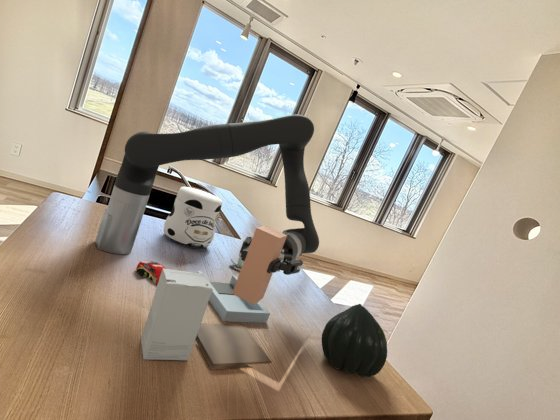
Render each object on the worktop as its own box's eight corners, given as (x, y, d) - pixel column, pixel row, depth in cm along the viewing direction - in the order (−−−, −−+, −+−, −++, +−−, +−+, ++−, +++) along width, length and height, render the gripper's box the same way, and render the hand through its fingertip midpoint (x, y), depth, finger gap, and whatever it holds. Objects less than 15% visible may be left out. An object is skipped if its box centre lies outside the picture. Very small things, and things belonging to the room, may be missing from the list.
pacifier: (252, 274, 122) (244, 265, 127) (259, 257, 121) (251, 249, 126) (234, 271, 118) (226, 263, 123) (241, 254, 117) (233, 246, 122)
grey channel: (222, 324, 82) (227, 311, 81) (193, 282, 98) (197, 271, 97) (265, 326, 89) (270, 313, 88) (232, 286, 105) (236, 275, 104)
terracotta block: (232, 293, 71) (256, 227, 69) (242, 287, 76) (265, 225, 74) (254, 304, 70) (279, 238, 68) (263, 297, 74) (287, 235, 72)
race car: (180, 294, 90) (185, 279, 89) (161, 296, 85) (167, 281, 85) (150, 269, 97) (155, 255, 96) (132, 270, 92) (137, 256, 92)
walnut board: (211, 369, 65) (213, 363, 65) (188, 328, 76) (190, 322, 76) (269, 366, 73) (271, 361, 73) (241, 329, 83) (243, 324, 83)
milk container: (194, 256, 118) (212, 204, 115) (150, 235, 122) (167, 184, 119) (217, 247, 135) (233, 202, 132) (177, 229, 138) (192, 185, 136)
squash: (390, 381, 74) (401, 312, 82) (320, 353, 75) (337, 289, 84) (369, 391, 85) (380, 330, 94) (309, 367, 87) (325, 309, 95)
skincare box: (182, 342, 70) (207, 273, 68) (188, 363, 65) (215, 288, 63) (137, 339, 66) (162, 265, 64) (140, 361, 61) (167, 281, 59)
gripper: (261, 222, 87) (231, 229, 70) (316, 247, 83) (298, 259, 67) (250, 251, 88) (218, 264, 71) (304, 276, 84) (283, 296, 68)
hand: (257, 261), depth 69 cm, fingers closed on terracotta block, 5 cm apart
